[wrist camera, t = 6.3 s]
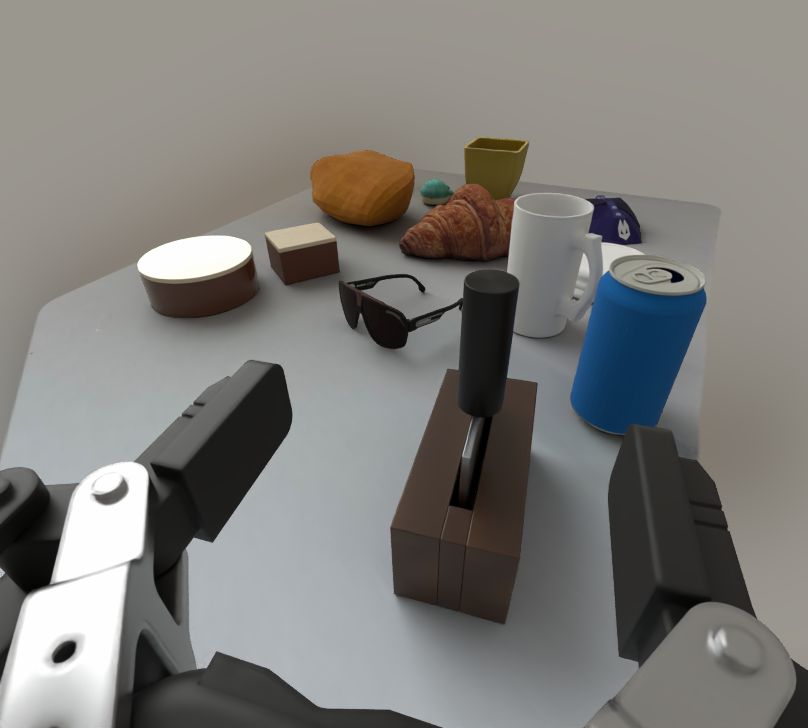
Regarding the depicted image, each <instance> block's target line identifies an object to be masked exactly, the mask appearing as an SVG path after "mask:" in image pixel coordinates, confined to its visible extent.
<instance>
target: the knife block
mask: <svg viewBox="0 0 808 728" xmlns="http://www.w3.org/2000/svg"><path fill="white" fill-rule="evenodd" d="M458 372H459V370H453V369H447V372H446V374H445V377H444V380H443V383H442V385H441V388H440V391H439V394H438V396H437V399H436V402H435V405H434V408H433V410H432V413H431V416H430V419H429V421H428V424H427V427H426V430H425V433H424V435H423V438H422V441H421V444H420V446H419V449H418V452H417V455H416V458H415V460H414V463H413V466H412V469H411V471H410V474H409V477H408V480H407V482H406V485H405V488H404V491H403V494H402V496H401V499H400V502H399V505H398V507H397V510H396V513H395V516H394V519H393V521H392V524H391V527H390V530H391V548H392V566H393V584H394V594H397V595H400V596H404V597H408V598H411V599H415V600H418V601H422V602H426V603H429V604H433V605H437V606H440V607H444V608H447V609H451V610H455V611H460V612H462V613H465V614H469V615H473V616H476V617H480V618H483V619H487V620H491V621H494V622H498V623H501V624H505V622H506V618H507V613H508V609H509V604H510V600H511V595H512V591H513V587H514V582H515V578H516V573H517V569H518V564H519V560H520V551H521V541H522V532H523V522H524V512H525V502H526V492H527V482H528V472H529V462H530V453H531V443H532V433H533V423H534V413H535V403H536V393H537V383H536V382H529V381H523V380H517V379H510V378H507V380H506V387H505V394H504V401H503V407H502V409H501V410H500V412H499V413H497V414H496V415H494V416H491V417H487V422H486V431H485V440H484V448H483V457H482V459H484V460H483V465H482V470H481V475H480V480H479V485H478V490H477V494H476V499H475V504H474V509H473V511H472V510H467V509H463V508H458V502H459V489H460V476H461V463H462V455H463V451H464V447H465V443H466V439H467V435H468V431H469V427H470V424H471V420H472V416H470V415H468V414H466V413H464V412H463V411H462V410H461V409H460V408H459V406H458V404H457V389H458Z"/></svg>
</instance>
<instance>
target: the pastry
mask: <svg viewBox="0 0 808 728" xmlns="http://www.w3.org/2000/svg"><path fill="white" fill-rule="evenodd" d="M515 200H516V199H515V198H505V199H501V200H497V201H494V199H493V198H492V196H491V194H490V193H489V192H488V191H487V190H486V189H485V188H483V187H482V186H480V185H478V184H465V185H463V186H461V187H459V188H458V189H457V190H456V191H455V192H454V195H453V196H452V197H451V199H450V201H449V202H448V203H447V204H446V205H445V206H444V205H438V206H437V207H435V208H434V209H432V210H431V211H429V212H428V213H427V214H426V215H425V216H424V217H423V218H422V220H421V221H420V222H419V223H418V224H416V225H415V226H413V227H411V228H410V229H408V230H407V232H406V234H405V235H404V236H403V238H402V239H401V241H400V243H399V246H400V249H401V251H402V253H403V254H405V255H415V256H419V257H424V258H425V257H426V258H442V259H443V258H455V259H459V260H480V261H481V260H482V261H488V260H492V259H495V258H498V257H502V256H509V249H510V238H511V228H512V219H513V212H514V202H515Z"/></svg>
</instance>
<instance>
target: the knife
mask: <svg viewBox="0 0 808 728" xmlns="http://www.w3.org/2000/svg"><path fill="white" fill-rule="evenodd" d="M519 286H520V283H519V280H518V279H517V278H516V277H515V276H514V275H512V274H510V273H507V272H504V271H499V270H479V271H475V272H472V273H470V274H468V275H467V276H466V278H465V280H464V292H463V308H462V324H461V340H460V356H459V372H458V389H457V404H458V406H459V408H460V409H461V410H462V411H463V412H464V413H466V414H468V415H470V416H472V420H471V424H470V427H469V431H468V435H467V439H466V443H465V447H464V451H463V455H462V463H461V476H460V489H459V502H458V508H463V509H467V510H472V509H473V504H474V499H475V494H476V489H477V485H478V480H479V475H480V470H481V465H482V457H483V448H484V440H485V431H486V422H487V417H491V416H494V415H496V414H497V413H499V412H500V410H501V409H502V407H503V401H504V394H505V387H506V380H507V373H508V365H509V358H510V351H511V344H512V336H513V329H514V322H515V315H516V307H517V300H518V293H519Z"/></svg>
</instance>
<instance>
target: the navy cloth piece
mask: <svg viewBox="0 0 808 728" xmlns="http://www.w3.org/2000/svg"><path fill="white" fill-rule="evenodd" d="M585 200H587V201H589V202H590V203H591V204H592V205H593V206H594V210H593V214H592V219H591V224H590V228H589V232H588V234H589V233H593V234H596V235H600V236H602V241H601V242H603V243H612V244H618V245H625V244H637V243H642V240H641V233H640V225H639V223H638V220H637V218H636V216H635V214H634V213H633V211H632V210H631V209H630V207H629V206H628V205H627V203H625V202H624V201H623V200H622V199H621V198H605V197H604V195H602V196H597V197H596V198H595V199H585Z"/></svg>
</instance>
